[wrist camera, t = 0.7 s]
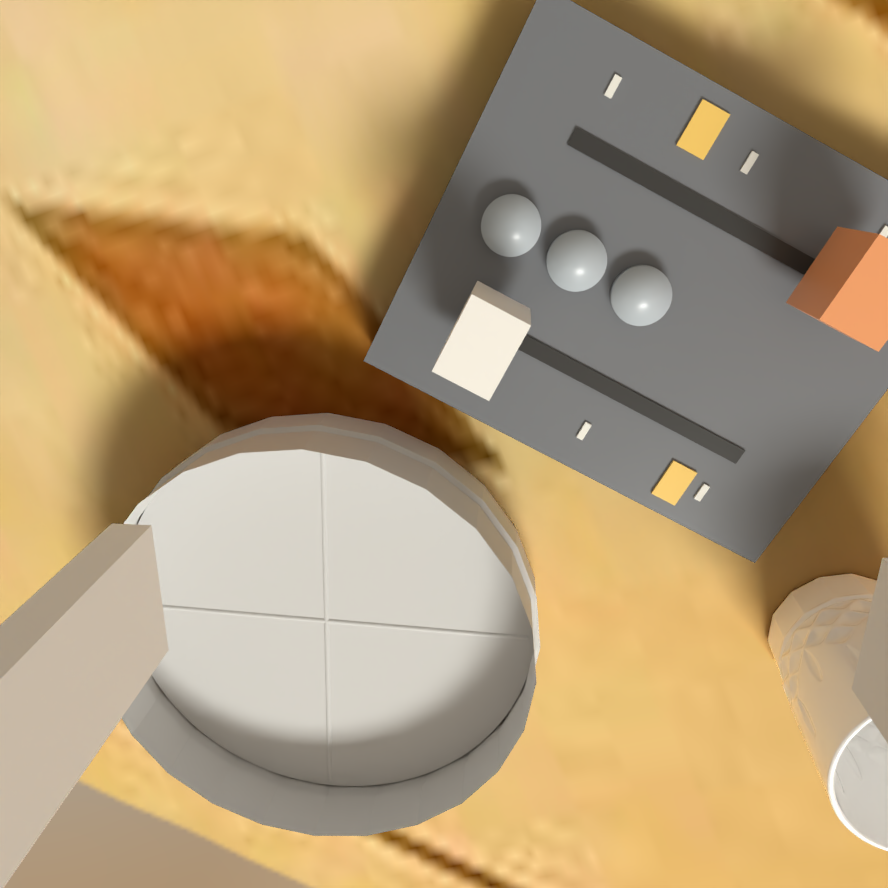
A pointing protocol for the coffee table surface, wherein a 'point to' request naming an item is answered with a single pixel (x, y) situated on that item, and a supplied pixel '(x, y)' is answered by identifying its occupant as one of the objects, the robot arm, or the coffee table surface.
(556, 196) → the console
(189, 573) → the dish
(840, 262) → the fader
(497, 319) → the cream block
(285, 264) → the coffee table surface
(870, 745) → the white cup
